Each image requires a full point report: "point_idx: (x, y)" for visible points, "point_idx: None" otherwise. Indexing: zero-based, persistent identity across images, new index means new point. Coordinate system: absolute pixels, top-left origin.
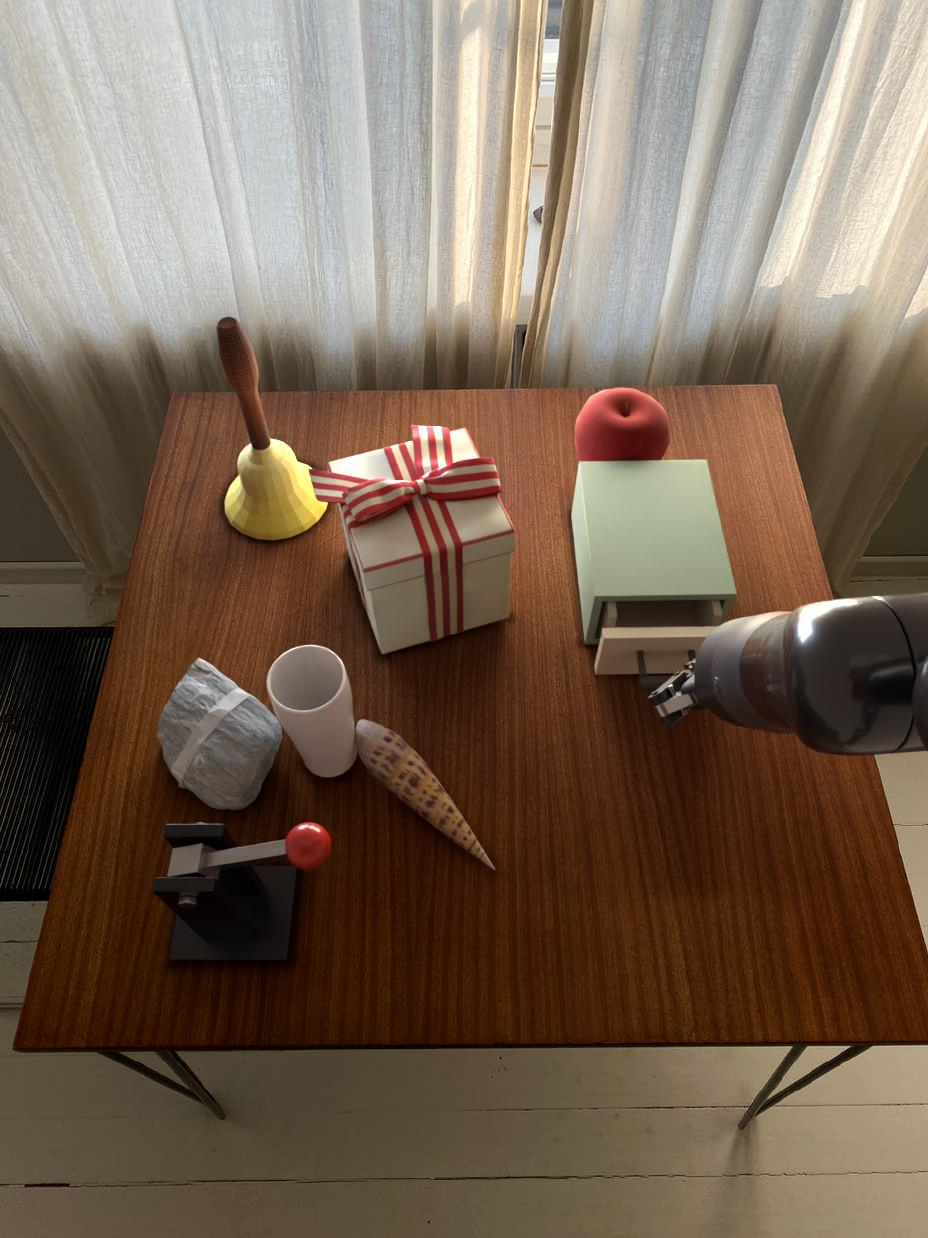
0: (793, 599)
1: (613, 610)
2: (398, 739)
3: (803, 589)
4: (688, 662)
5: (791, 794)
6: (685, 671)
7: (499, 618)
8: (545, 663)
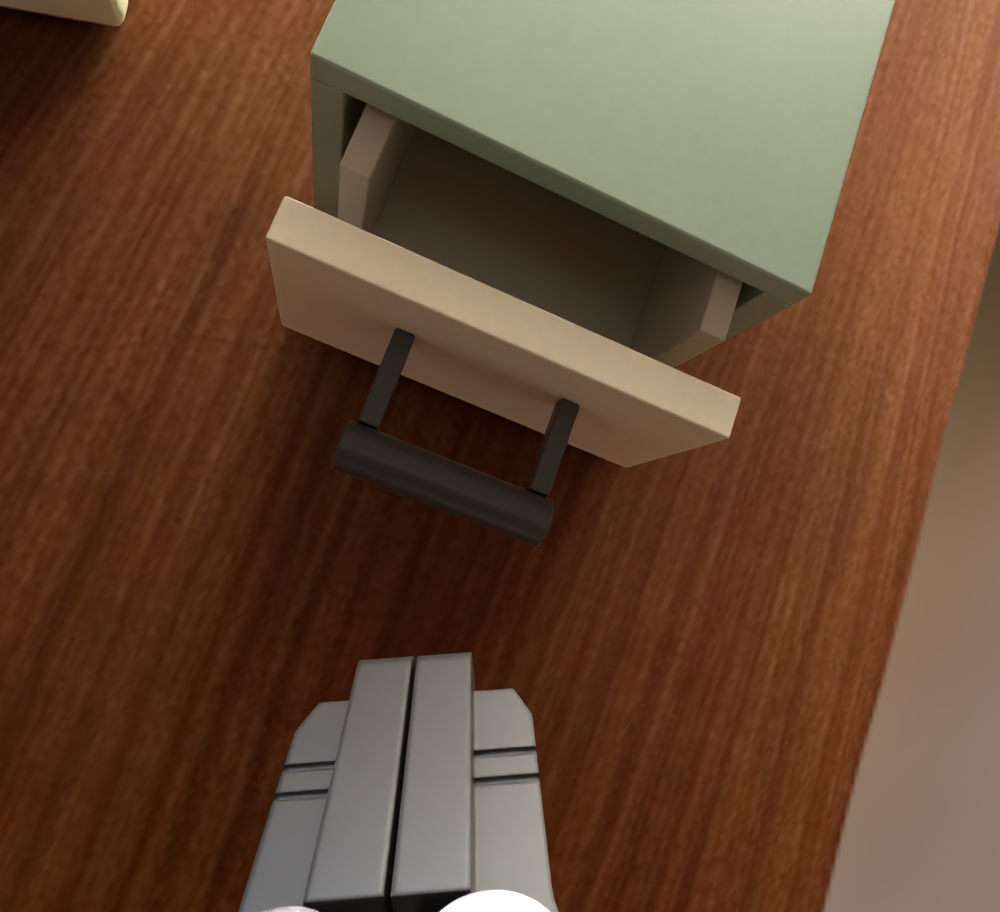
0: (900, 345)
1: (368, 147)
2: None
3: (934, 330)
4: (384, 675)
5: (627, 869)
6: (308, 764)
7: (83, 13)
8: (163, 221)
